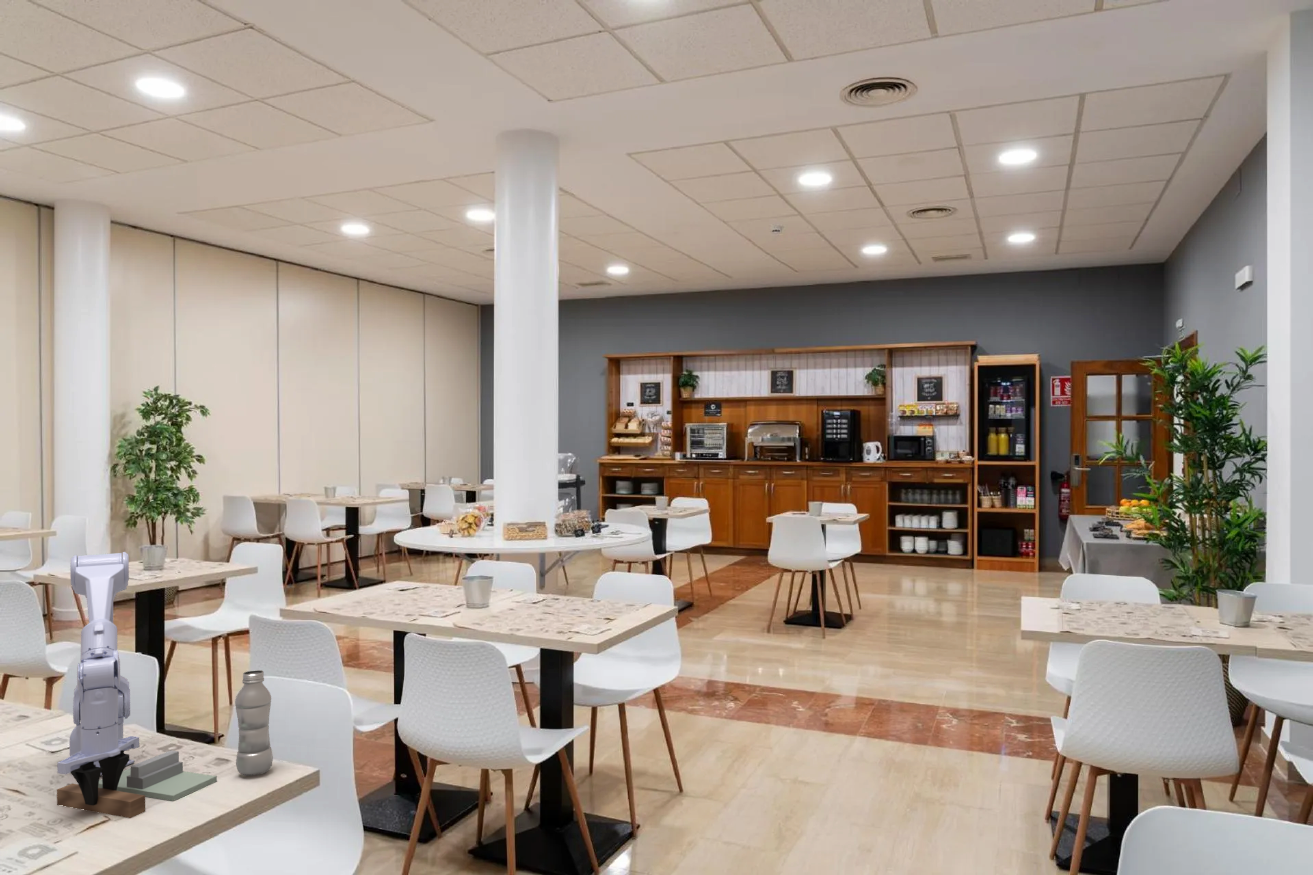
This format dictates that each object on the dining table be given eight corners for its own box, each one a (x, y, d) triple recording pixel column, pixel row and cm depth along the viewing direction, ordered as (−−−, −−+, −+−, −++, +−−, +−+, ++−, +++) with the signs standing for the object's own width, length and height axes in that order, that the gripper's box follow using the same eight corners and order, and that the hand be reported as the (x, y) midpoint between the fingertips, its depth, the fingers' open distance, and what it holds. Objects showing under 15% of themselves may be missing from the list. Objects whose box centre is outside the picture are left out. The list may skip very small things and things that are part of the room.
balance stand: (93, 787, 171) (92, 761, 171) (139, 769, 181) (138, 744, 181) (173, 800, 165) (172, 773, 165) (216, 781, 174) (216, 755, 174)
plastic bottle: (271, 777, 176) (269, 674, 176) (233, 781, 174) (232, 677, 174) (275, 765, 182) (273, 666, 182) (238, 769, 180) (237, 669, 180)
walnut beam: (56, 805, 164) (56, 789, 164) (72, 799, 166) (72, 783, 166) (130, 818, 157) (130, 801, 157) (145, 812, 160) (145, 795, 160)
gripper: (77, 739, 154) (78, 819, 154) (151, 714, 167) (151, 787, 167) (48, 735, 156) (49, 813, 156) (122, 711, 170) (123, 783, 170)
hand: (100, 800), depth 162 cm, fingers closed on walnut beam, 3 cm apart
